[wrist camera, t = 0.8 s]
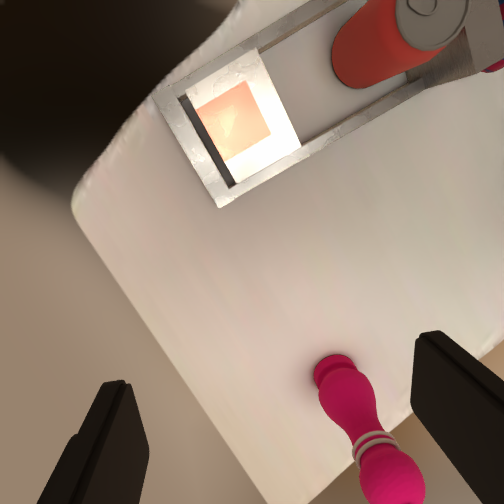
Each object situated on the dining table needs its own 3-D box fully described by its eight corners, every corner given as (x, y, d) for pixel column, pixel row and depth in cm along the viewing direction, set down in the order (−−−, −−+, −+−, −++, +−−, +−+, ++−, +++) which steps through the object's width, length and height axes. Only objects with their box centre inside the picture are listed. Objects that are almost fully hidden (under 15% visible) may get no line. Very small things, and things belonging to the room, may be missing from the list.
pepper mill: (346, 342, 44) (443, 488, 25) (364, 377, 46) (466, 534, 27) (302, 366, 44) (364, 526, 25) (322, 399, 47) (393, 568, 28)
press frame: (400, -48, 30) (472, -126, 21) (436, 79, 34) (509, 54, 25) (157, 100, 32) (134, 82, 23) (218, 204, 36) (218, 220, 27)
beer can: (335, 13, 31) (403, -66, 20) (395, 23, 32) (494, -47, 21) (324, 85, 33) (380, 51, 22) (381, 93, 34) (463, 64, 23)
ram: (249, 66, 31) (266, 17, 20) (287, 147, 34) (322, 145, 23) (190, 101, 32) (175, 73, 20) (233, 178, 35) (241, 191, 23)
